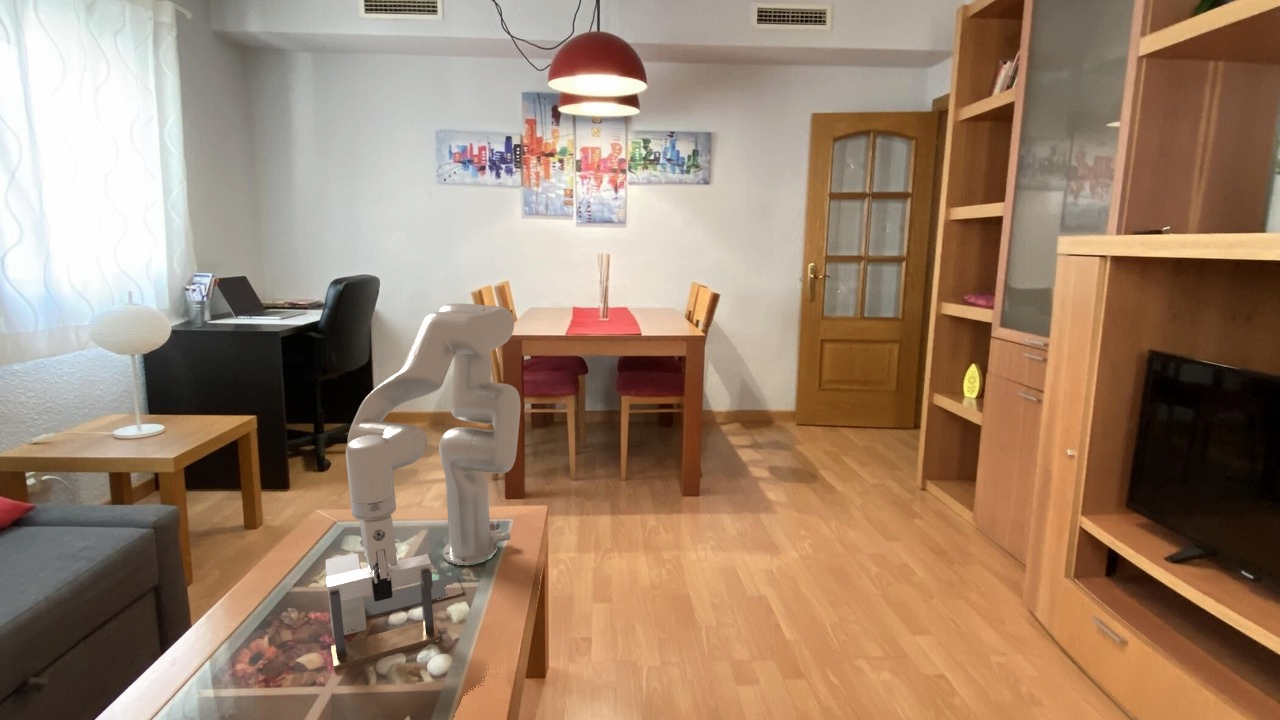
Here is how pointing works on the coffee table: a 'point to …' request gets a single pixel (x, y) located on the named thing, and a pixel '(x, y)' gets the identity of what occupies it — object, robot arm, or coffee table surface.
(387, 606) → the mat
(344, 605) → the small box
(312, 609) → the coffee table surface
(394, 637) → the rack
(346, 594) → the rail
